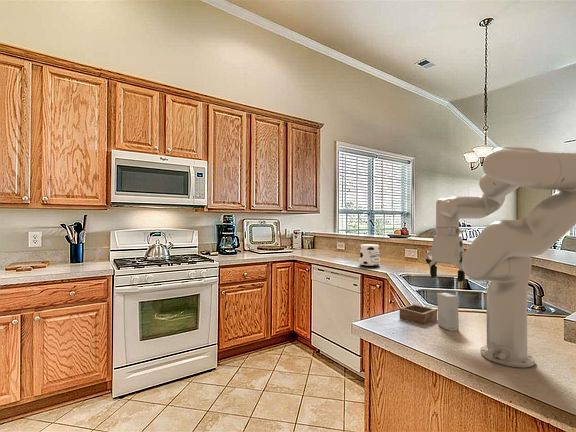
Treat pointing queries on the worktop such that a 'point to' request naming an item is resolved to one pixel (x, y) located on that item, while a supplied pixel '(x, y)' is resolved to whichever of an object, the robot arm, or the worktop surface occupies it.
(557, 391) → the worktop surface
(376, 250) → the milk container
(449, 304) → the skincare box
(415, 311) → the brown wooden tray
